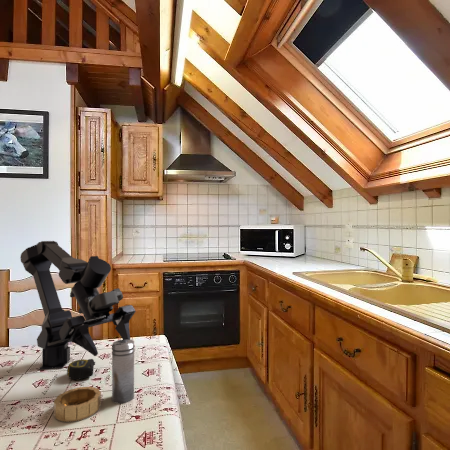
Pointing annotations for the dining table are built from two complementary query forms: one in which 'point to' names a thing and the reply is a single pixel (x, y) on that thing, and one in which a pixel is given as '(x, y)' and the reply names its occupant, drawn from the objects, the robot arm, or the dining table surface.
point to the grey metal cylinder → (123, 371)
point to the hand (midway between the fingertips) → (113, 349)
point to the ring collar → (77, 404)
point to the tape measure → (80, 369)
